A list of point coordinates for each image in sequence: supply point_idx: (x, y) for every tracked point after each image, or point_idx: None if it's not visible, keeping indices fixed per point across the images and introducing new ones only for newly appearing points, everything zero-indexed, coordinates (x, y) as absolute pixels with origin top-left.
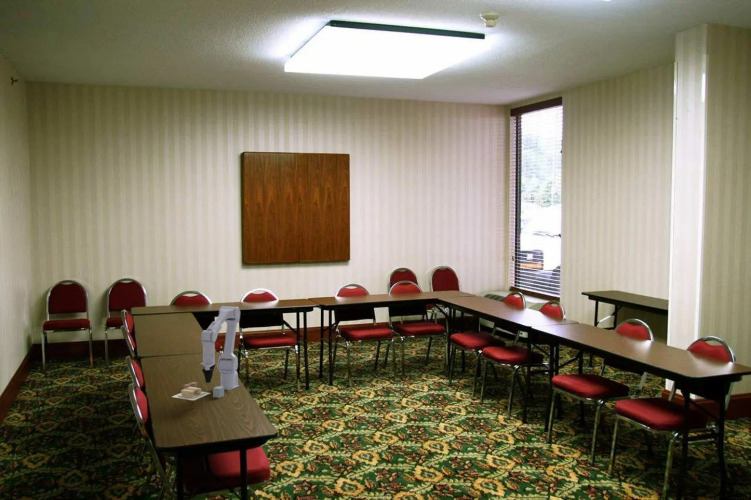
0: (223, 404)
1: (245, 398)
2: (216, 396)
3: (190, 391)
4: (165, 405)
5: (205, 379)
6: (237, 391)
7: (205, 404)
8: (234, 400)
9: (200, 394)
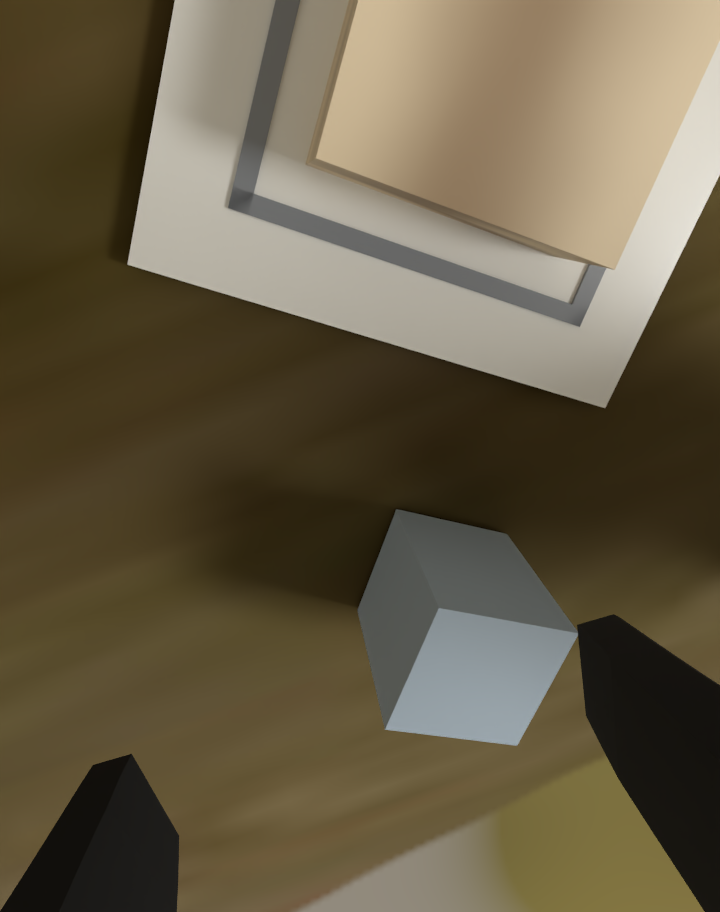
0: (115, 739)
1: (411, 841)
2: (379, 579)
3: (340, 81)
4: None
5: (15, 889)
6: None
7: (27, 528)
8: (316, 781)
9: (524, 252)
